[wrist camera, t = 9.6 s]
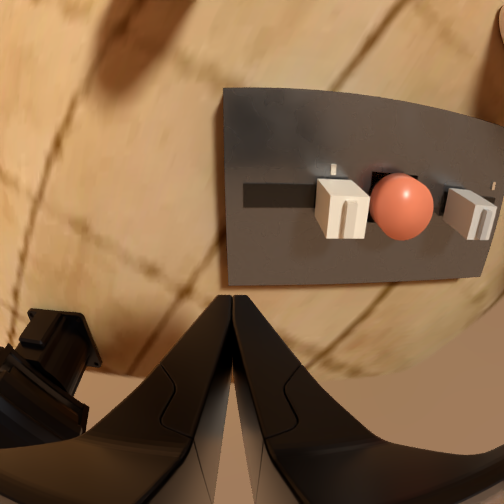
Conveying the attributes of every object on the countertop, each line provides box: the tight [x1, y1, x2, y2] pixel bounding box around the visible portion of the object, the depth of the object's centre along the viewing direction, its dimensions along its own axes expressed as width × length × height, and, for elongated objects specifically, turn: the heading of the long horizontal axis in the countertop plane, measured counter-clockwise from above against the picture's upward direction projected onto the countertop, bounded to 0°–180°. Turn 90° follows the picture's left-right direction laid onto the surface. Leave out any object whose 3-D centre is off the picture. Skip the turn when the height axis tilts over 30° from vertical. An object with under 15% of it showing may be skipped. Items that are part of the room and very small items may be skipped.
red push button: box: [369, 173, 433, 241], centre depth 18 cm, size 4×4×4 cm
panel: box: [223, 88, 504, 286], centre depth 19 cm, size 12×20×2 cm, turn 90°
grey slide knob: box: [443, 188, 497, 240], centre depth 16 cm, size 2×2×3 cm
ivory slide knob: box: [315, 179, 370, 239], centre depth 16 cm, size 2×2×3 cm
